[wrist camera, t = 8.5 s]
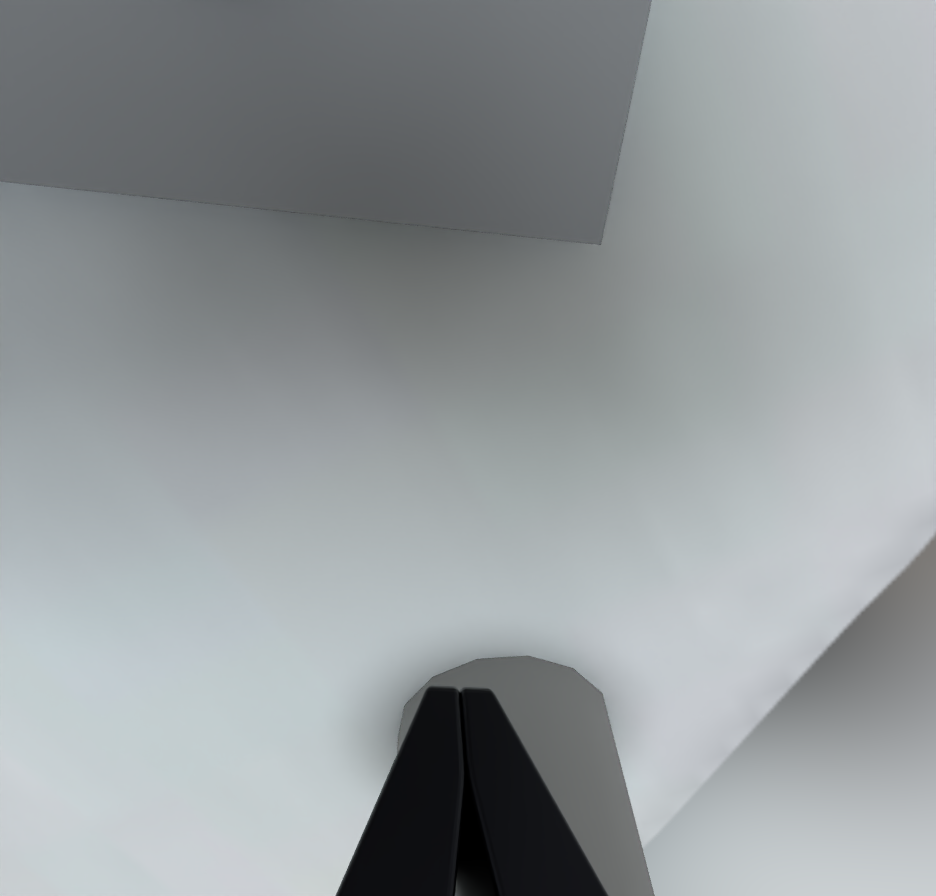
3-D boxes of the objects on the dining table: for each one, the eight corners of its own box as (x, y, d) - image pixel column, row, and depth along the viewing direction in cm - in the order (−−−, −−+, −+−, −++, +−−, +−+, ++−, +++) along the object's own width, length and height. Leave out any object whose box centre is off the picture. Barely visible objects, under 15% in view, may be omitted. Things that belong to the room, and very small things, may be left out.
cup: (370, 682, 26) (340, 1002, 17) (587, 634, 25) (667, 943, 17) (434, 810, 30) (436, 1118, 22) (622, 772, 30) (700, 1076, 21)
